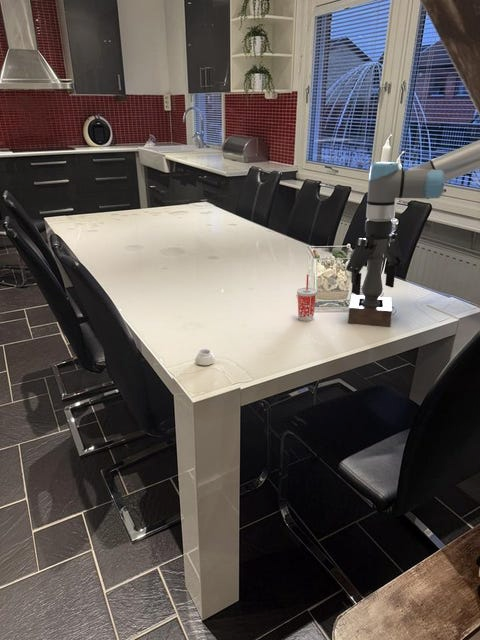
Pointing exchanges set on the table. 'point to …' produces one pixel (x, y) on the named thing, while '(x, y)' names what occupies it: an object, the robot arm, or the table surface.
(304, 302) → the beverage cup
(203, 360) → the white jar
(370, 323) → the block
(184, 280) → the table surface
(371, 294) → the candle holder
